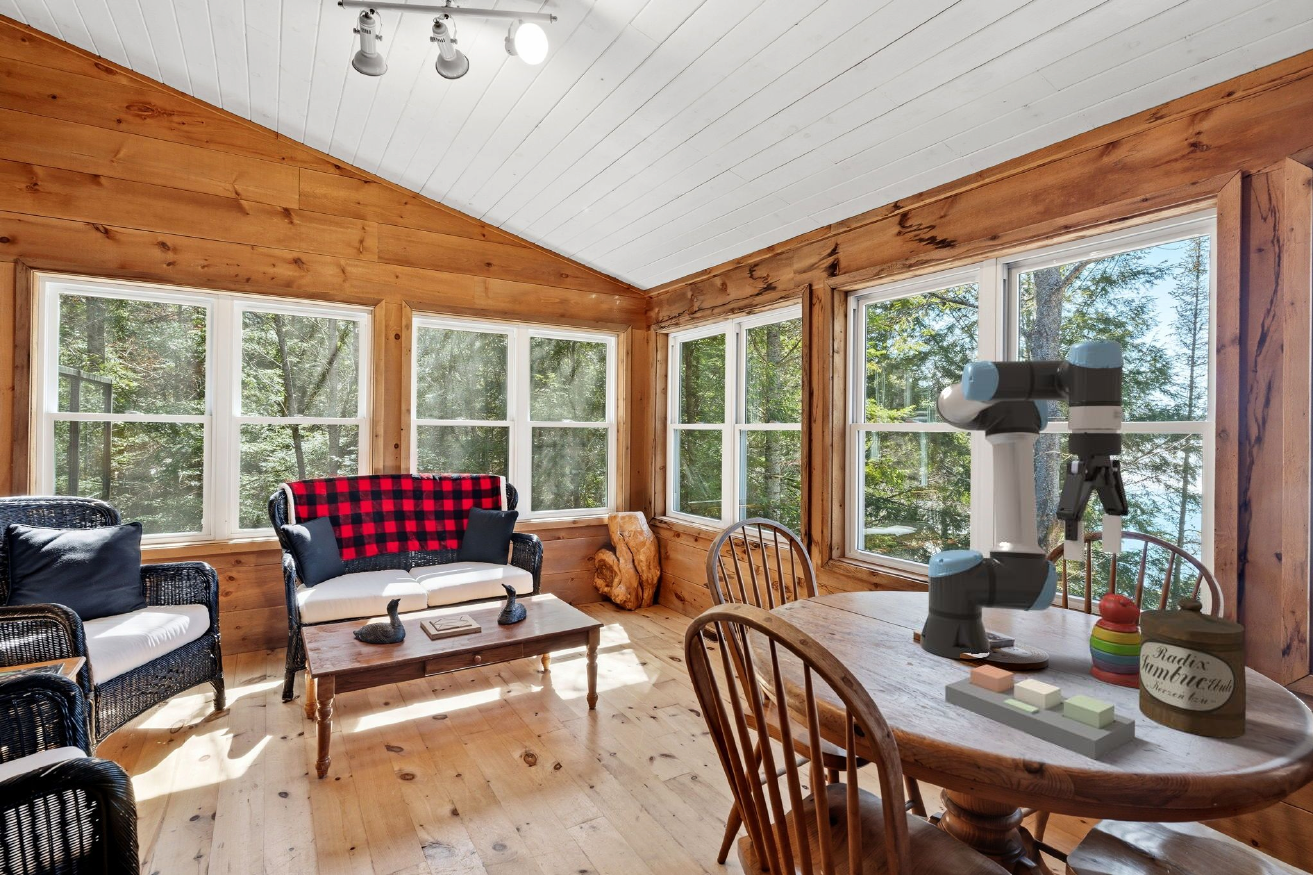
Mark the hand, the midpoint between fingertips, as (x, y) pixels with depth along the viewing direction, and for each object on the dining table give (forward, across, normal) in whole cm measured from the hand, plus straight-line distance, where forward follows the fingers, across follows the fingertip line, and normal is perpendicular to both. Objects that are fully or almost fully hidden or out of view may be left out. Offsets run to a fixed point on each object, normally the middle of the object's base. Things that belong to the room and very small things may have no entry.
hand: (1093, 556), depth 109 cm
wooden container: (+31, +22, -6) cm, 39 cm away
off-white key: (+28, 0, +9) cm, 29 cm away
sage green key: (+28, -1, 0) cm, 28 cm away
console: (+31, -1, +9) cm, 32 cm away
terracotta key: (+28, 0, +17) cm, 33 cm away
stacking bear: (+31, +34, +9) cm, 47 cm away
